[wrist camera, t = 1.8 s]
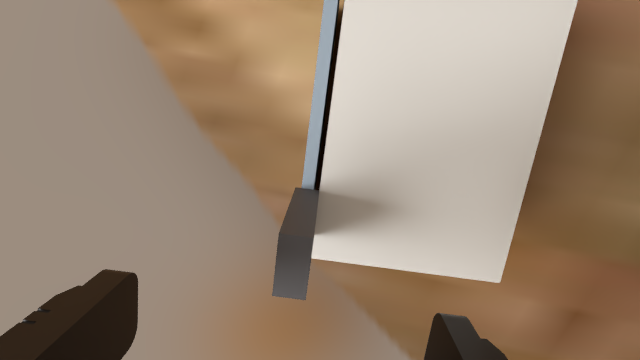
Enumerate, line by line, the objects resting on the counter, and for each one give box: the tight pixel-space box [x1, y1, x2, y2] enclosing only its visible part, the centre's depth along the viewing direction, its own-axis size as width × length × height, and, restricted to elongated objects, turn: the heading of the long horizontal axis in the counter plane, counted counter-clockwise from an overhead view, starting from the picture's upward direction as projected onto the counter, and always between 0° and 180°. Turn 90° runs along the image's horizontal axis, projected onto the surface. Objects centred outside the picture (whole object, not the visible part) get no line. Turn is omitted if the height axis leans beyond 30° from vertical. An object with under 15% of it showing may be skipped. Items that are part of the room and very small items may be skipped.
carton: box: [311, 0, 578, 283], centre depth 22 cm, size 14×10×10 cm
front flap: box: [272, 0, 339, 300], centre depth 19 cm, size 14×1×16 cm, turn 173°
